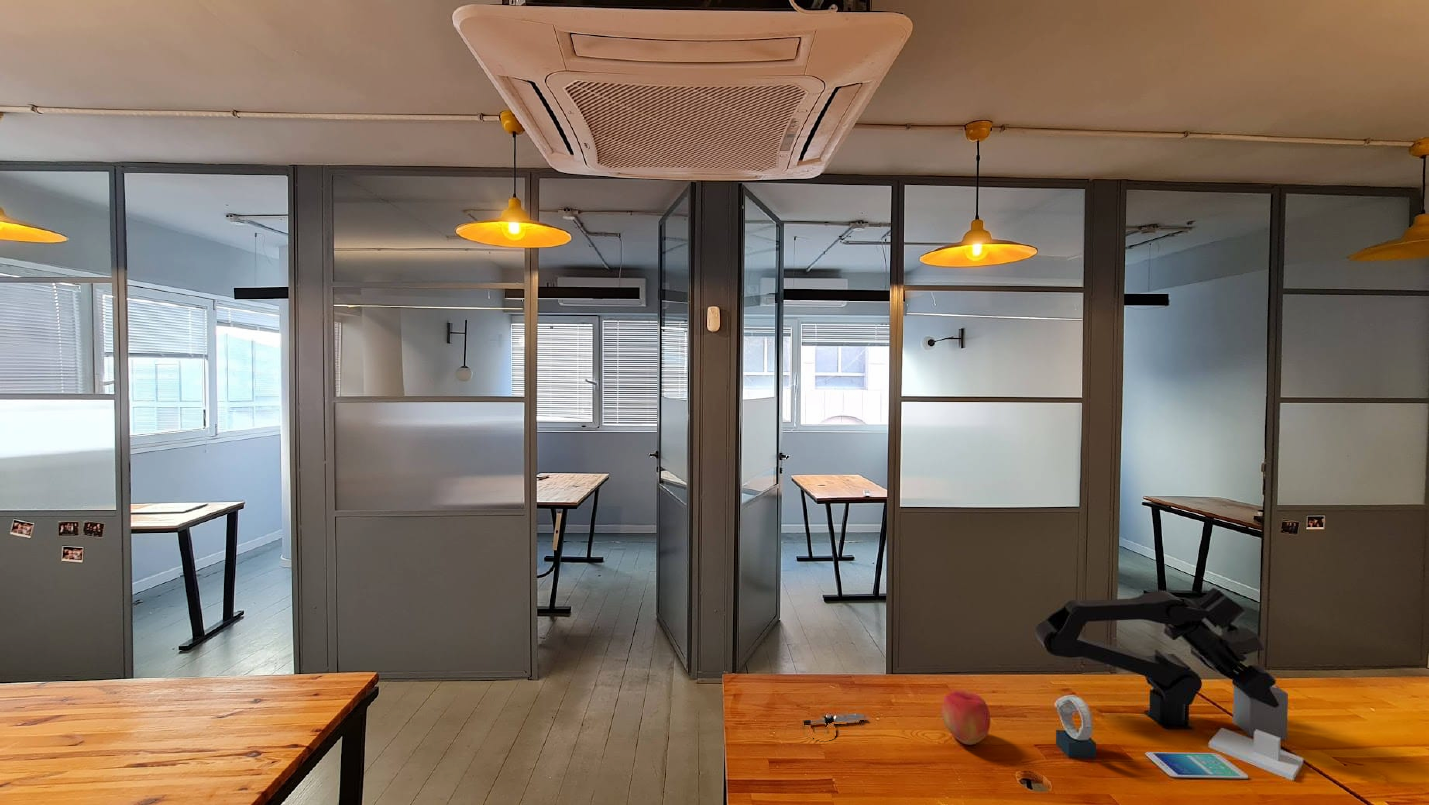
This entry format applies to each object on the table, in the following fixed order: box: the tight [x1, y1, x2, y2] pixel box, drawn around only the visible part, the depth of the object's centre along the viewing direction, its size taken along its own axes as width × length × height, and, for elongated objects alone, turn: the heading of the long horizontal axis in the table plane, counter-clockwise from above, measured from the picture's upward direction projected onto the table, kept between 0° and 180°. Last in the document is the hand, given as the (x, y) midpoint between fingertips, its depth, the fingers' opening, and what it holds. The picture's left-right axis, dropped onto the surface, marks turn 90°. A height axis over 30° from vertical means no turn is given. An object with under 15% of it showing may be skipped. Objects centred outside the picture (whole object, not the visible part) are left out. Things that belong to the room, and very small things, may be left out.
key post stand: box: [1208, 727, 1304, 781], centre depth 116 cm, size 12×9×5 cm
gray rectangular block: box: [1232, 684, 1289, 741], centre depth 124 cm, size 7×5×10 cm
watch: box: [1054, 694, 1097, 759], centre depth 117 cm, size 6×8×11 cm
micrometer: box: [802, 712, 867, 726], centre depth 124 cm, size 15×7×2 cm, turn 98°
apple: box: [941, 689, 991, 746], centre depth 121 cm, size 10×10×10 cm
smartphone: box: [1144, 751, 1249, 781], centre depth 112 cm, size 8×1×15 cm
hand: (1260, 694), depth 124 cm, fingers open, 9 cm apart
